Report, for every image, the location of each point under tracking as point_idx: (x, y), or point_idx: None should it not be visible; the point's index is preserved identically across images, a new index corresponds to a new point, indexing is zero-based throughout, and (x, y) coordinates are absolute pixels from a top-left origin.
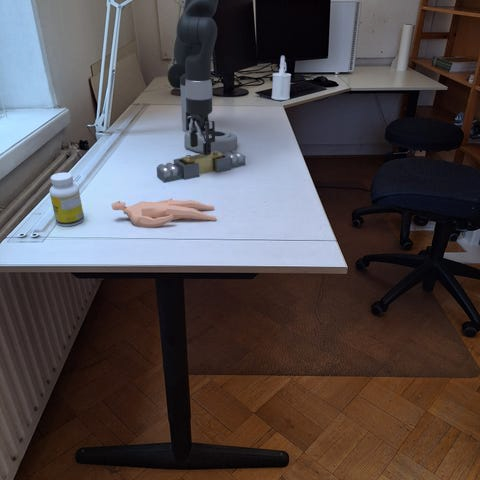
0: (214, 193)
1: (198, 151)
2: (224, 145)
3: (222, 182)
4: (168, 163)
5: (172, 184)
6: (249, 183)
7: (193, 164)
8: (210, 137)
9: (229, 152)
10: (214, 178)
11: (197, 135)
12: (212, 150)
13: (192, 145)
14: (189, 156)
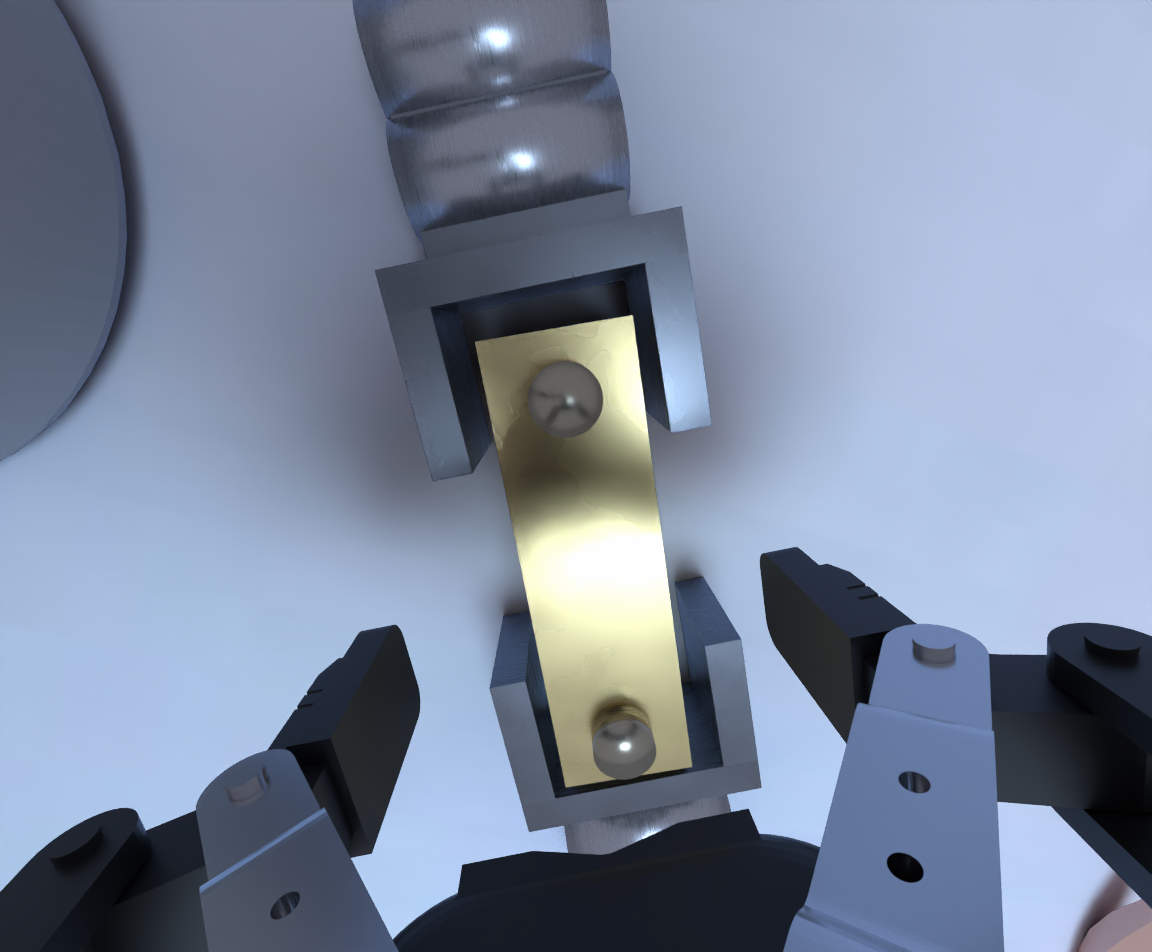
0: (1079, 558)
1: (50, 424)
2: (25, 67)
3: (912, 429)
4: None
5: (772, 790)
6: (1059, 187)
7: (740, 693)
8: (990, 705)
9: (429, 132)
10: (797, 467)
11: (337, 725)
12: (100, 275)
13: (414, 705)
14: (651, 748)
